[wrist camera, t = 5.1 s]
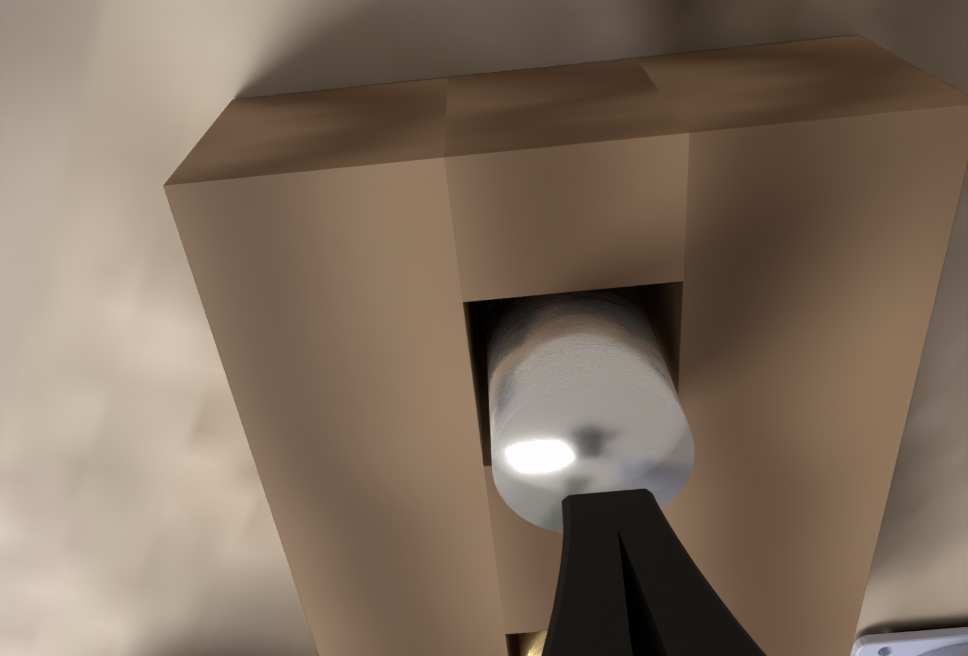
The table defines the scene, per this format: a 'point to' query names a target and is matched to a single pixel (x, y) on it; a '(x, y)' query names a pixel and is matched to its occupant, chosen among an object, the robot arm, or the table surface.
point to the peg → (580, 402)
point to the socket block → (567, 268)
